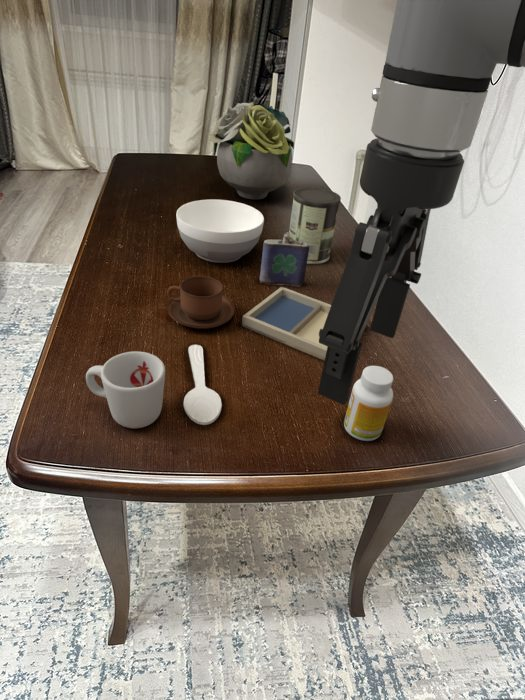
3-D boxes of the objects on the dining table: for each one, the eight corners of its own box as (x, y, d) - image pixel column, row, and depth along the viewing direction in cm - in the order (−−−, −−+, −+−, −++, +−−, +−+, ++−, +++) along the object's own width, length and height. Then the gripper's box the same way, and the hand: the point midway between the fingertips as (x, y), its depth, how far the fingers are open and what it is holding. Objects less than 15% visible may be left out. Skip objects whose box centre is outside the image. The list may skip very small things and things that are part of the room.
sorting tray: (364, 327, 91) (366, 318, 89) (333, 364, 80) (335, 354, 79) (280, 295, 97) (281, 286, 96) (241, 326, 87) (242, 316, 86)
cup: (75, 422, 65) (67, 376, 60) (105, 385, 71) (99, 341, 66) (152, 442, 63) (149, 395, 59) (175, 402, 70) (174, 358, 65)
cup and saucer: (168, 336, 82) (167, 304, 79) (165, 299, 92) (165, 270, 88) (239, 333, 85) (241, 303, 81) (229, 298, 94) (230, 269, 91)
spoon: (211, 346, 81) (211, 343, 81) (224, 423, 67) (224, 420, 67) (178, 347, 80) (178, 344, 80) (185, 426, 66) (185, 423, 66)
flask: (259, 284, 100) (264, 234, 94) (259, 277, 103) (264, 228, 96) (304, 287, 101) (312, 238, 95) (302, 280, 103) (310, 232, 97)
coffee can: (319, 244, 119) (329, 186, 111) (336, 263, 111) (348, 202, 103) (279, 245, 116) (287, 186, 108) (294, 265, 109) (303, 203, 100)
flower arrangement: (196, 184, 147) (197, 93, 132) (269, 179, 157) (277, 94, 143) (231, 214, 130) (237, 114, 115) (310, 206, 140) (324, 113, 126)
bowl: (245, 233, 121) (248, 198, 115) (272, 268, 107) (277, 230, 102) (168, 237, 114) (168, 200, 109) (187, 275, 100) (187, 235, 95)
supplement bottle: (389, 435, 68) (408, 381, 63) (359, 447, 66) (375, 392, 60) (365, 410, 72) (380, 358, 66) (335, 421, 70) (349, 367, 64)
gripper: (416, 116, 48) (369, 301, 61) (300, 164, 30) (266, 414, 43) (494, 131, 45) (428, 322, 58) (417, 195, 27) (345, 452, 40)
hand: (359, 362), depth 50 cm, fingers open, 13 cm apart
